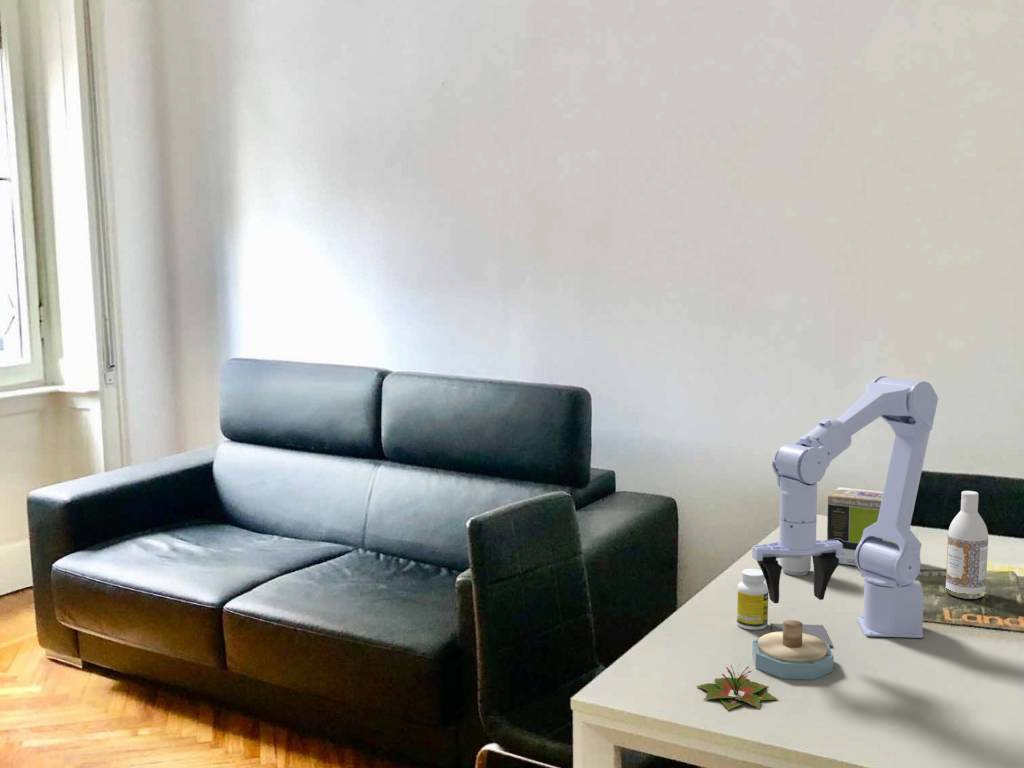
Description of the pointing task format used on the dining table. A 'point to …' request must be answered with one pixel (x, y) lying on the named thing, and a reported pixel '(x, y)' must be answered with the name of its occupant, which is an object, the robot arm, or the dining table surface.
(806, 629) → the mat
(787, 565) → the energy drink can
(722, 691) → the lily flower
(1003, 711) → the dining table surface
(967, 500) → the bath foam
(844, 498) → the tea box
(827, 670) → the bowl
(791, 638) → the lid
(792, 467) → the robot arm
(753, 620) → the supplement bottle
